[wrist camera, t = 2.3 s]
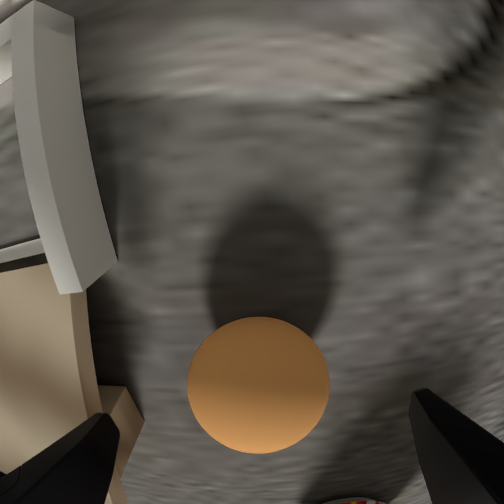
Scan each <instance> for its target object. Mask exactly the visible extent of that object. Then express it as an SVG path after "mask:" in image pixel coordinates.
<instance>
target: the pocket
mask: <svg viewBox="0 0 504 504" xmlns="http://www.w3.org/2000/svg"><path fill="white" fill-rule="evenodd" d="M11 76H12V81H13V96H14V107H15V116H16V125H17V132H18V139H19V146H20V152H21V158H22V163H23V169H24V174H25V179H26V183H27V188H28V192H29V197H30V201H31V205H32V209H33V213H34V217H35V220H36V224H37V228H38V231H39V235H40V238H41V242H42V245H43V248H44V251H45V254H46V257H47V261H48V264H49V267H50V269H51V272H52V275H53V278H54V281H55V284H56V286H57V289H58V292H59V294H69V293H77V292H83V291H84V290H86V289H87V288H88V287H89V286H90V285H91V284H92V283H94V282H95V281H96V280H97V279H98V278H99V277H101V276H102V275H103V274H104V273H105V272H107V271H108V270H109V269H110V268H111V267H112V266H114V265H115V264H116V263H117V262H118V260H117V257H116V254H115V250H114V247H113V243H112V240H111V236H110V233H109V229H108V226H107V222H106V218H105V214H104V210H103V206H102V202H101V198H100V194H99V190H98V185H97V181H96V177H95V172H94V167H93V163H92V158H91V153H90V147H89V142H88V137H87V131H86V125H85V119H84V112H83V106H82V99H81V91H80V83H79V75H78V65H77V54H76V42H75V26H74V17H72V16H70V15H67V14H65V13H63V12H61V11H59V10H57V9H54V8H52V7H50V6H48V5H45V4H43V3H41V2H38V1H36V0H33V1H31V2H30V3H28V4H27V5H26V6H24V7H23V8H21V9H20V10H18V11H17V12H16V13H14V14H13V15H12V16H10V17H9V18H8V19H6V20H5V21H4V22H2V23H1V24H0V84H1V83H3V82H4V81H6V80H7V79H9V78H10V77H11Z"/></svg>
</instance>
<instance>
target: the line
mask: <svg viewBox="0 0 504 504" xmlns="http://www.w3.org/2000/svg"><path fill="white" fill-rule="evenodd" d="M42 253H45V251H44V248H43V245H42V242H41V238H39V239H36V240H32V241H28V242H25V243H21V244H17V245H14V246H10V247H7V248H3V249H0V263H3V262H7V261H12V260H16V259H20V258H24V257H29V256H33V255H37V254H42Z"/></svg>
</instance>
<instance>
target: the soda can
mask: <svg viewBox="0 0 504 504" xmlns="http://www.w3.org/2000/svg"><path fill="white" fill-rule="evenodd" d="M323 504H386V503H383V502H380V501H374V500H372V499H369V498H362V497H353V498H343V499H338V500H333V501H329V502H326V503H323Z"/></svg>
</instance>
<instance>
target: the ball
mask: <svg viewBox="0 0 504 504" xmlns="http://www.w3.org/2000/svg"><path fill="white" fill-rule="evenodd" d="M329 390H330V380H329V372H328V368H327V365H326V362H325V359H324V357H323V355H322V353H321V351H320V350H319V348H318V346H317V345H316V344H315V343H314V341H313V340H312V339H311V338H310V337H309V336H308V335H307V334H306V333H304V332H303V331H302V330H300V329H299V328H297V327H295V326H293V325H292V324H290V323H287V322H285V321H282V320H279V319H275V318H270V317H248V318H242V319H239V320H235V321H233V322H230V323H228V324H225V325H224V326H222V327H220V328H219V329H217V330H216V331H215V332H213V333H212V334H211V335H210V336H208V337H207V338H206V340H205V341H204V342H203V343H202V344H201V345H200V347H199V348H198V350H197V351H196V353H195V355H194V357H193V360H192V362H191V365H190V368H189V373H188V381H187V391H188V398H189V403H190V406H191V408H192V411H193V413H194V415H195V417H196V419H197V421H198V422H199V424H200V425H201V426H202V428H203V429H204V430H205V431H206V432H207V433H208V434H209V435H210V436H211V437H213V438H214V439H215V440H217V441H218V442H220V443H222V444H223V445H225V446H227V447H229V448H232V449H234V450H238V451H242V452H247V453H270V452H275V451H279V450H281V449H284V448H287V447H289V446H291V445H293V444H295V443H297V442H298V441H300V440H301V439H302V438H304V437H305V436H306V435H307V434H308V433H309V432H310V431H311V430H312V429H313V428H314V427H315V426H316V424H317V423H318V421H319V420H320V418H321V416H322V415H323V413H324V410H325V408H326V405H327V402H328V397H329Z"/></svg>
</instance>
